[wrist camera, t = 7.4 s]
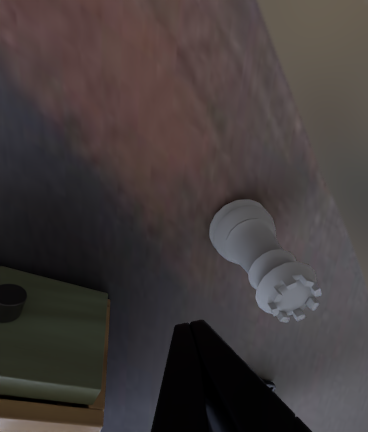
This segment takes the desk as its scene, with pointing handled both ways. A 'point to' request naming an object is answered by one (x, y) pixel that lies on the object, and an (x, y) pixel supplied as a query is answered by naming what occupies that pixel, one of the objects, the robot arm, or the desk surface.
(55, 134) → the desk surface
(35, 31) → the desk surface
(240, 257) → the rook chess piece
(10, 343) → the drawer
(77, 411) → the drawer unit
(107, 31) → the desk surface
